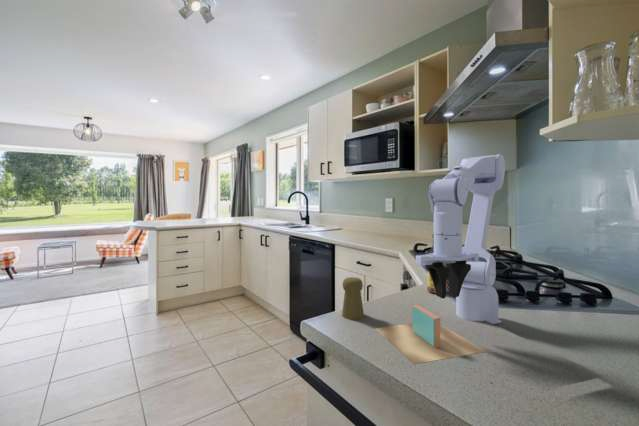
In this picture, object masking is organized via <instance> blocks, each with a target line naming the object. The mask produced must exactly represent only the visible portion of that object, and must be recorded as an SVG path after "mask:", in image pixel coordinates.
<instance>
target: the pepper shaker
mask: <svg viewBox="0 0 639 426" xmlns="http://www.w3.org/2000/svg"><path fill="white" fill-rule="evenodd" d="M363 286H364V284H363V280H362V279H360V278H359V277H353V276H352V277H350V276H349V277H345V278H344V279H343V280H342V289H343V291H344V294H343V295H344V296H343V302H342V303H343V304H342V311H341V316H342V318H344V319H347V320H349V321H350V320H352V321H353V320H354V321H355V320H356V321H357V320H361V319H363V318H364V317H365V314H364V306H363V299H362V289H363Z"/></svg>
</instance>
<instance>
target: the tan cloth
mask: <svg viewBox="0 0 639 426" xmlns="http://www.w3.org/2000/svg"><path fill="white" fill-rule="evenodd" d="M375 330H376V331H377V332H378V333H379V334H380V335H381V336H383V338H384V339H386V340H387V341H388V342H389V343H390V344H391V345H392V346H393V347H394V348H396V349H397V351H398V352H400V353H401V355H403V356H404V357H405V358H406V359H407V360H408V361H409V362H410V363H412V364H413V365H418V364H419V365H420V364H424V363H429V362H435V361H441V360H446V359H452V358H458V357H464V356H470V355H476V354H481V353H486V352H487V351H486V350H485V349H483V348H481V347H479V346H478V345H476V344H475V343H473V342H471V341H470V340H468V339H466V338H464V337H463V336H461V335H459V334H458V333H456V332H454V331H453V330H451V329H449V328H448V327H446V326H444V325H443V324H442V323H440V347H438V348H434V347H433V346H432V345H430V344H429V343H428V342H426V341H425V340H424V339H422V338H421V337H420V336H418V335H417V334H415V333H414V332H413V322H412V323H406V324H398V325H389V326H382V327H376V328H375Z"/></svg>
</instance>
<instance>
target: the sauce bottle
mask: <svg viewBox="0 0 639 426" xmlns="http://www.w3.org/2000/svg"><path fill="white" fill-rule="evenodd" d="M431 236H432V247H431V248H430V250H429V252H428V254H430V253H434V232H433V233H432V235H431ZM443 265H445V267H447V266H446V263H445V264H443ZM426 281H427V282H426V284H427V285H426V286H427V291H428V292H429V293H431V294H436V291H435V287H434V283H433V281H432V278H431V276H430V274H429V272H428V271H427V280H426ZM447 289H448V282H447V283H446V290H447Z"/></svg>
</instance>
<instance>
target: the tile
mask: <svg viewBox="0 0 639 426" xmlns="http://www.w3.org/2000/svg"><path fill="white" fill-rule="evenodd" d="M412 323H413V332H414V333H415V334H417V335H418V336H420V337H421V338H422V339H424V340H425V341H426V342H428V343H429V344H430V345H432V346H433V347H434V348H438V347H440V324H441V317H439V316H438V315H436V314H434V313H432V312H431V311H430V310H428V309H426V308H423V307H422V306H420V305H419V304H414V305H413V304H412Z"/></svg>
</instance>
